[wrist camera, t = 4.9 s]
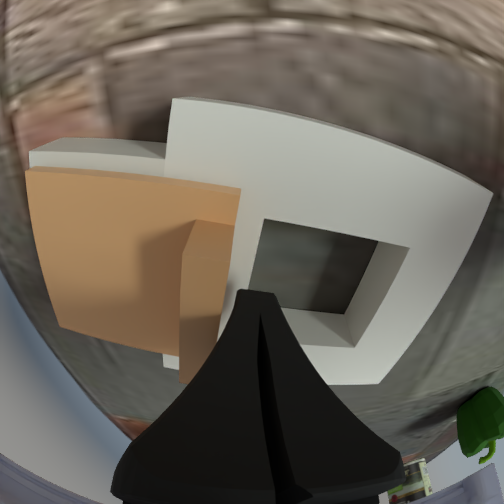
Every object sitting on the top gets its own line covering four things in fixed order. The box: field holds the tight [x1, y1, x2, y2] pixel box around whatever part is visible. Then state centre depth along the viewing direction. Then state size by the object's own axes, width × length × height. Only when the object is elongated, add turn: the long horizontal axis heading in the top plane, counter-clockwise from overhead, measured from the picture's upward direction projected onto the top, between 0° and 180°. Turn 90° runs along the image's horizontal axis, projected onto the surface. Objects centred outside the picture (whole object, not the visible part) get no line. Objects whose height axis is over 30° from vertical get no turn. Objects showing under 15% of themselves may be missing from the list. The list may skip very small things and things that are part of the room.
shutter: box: [25, 166, 241, 384], centre depth 9 cm, size 8×8×3 cm
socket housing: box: [29, 97, 493, 385], centre depth 12 cm, size 19×13×2 cm
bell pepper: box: [457, 387, 504, 464], centre depth 21 cm, size 8×8×10 cm
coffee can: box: [387, 458, 433, 504], centre depth 37 cm, size 10×10×14 cm
